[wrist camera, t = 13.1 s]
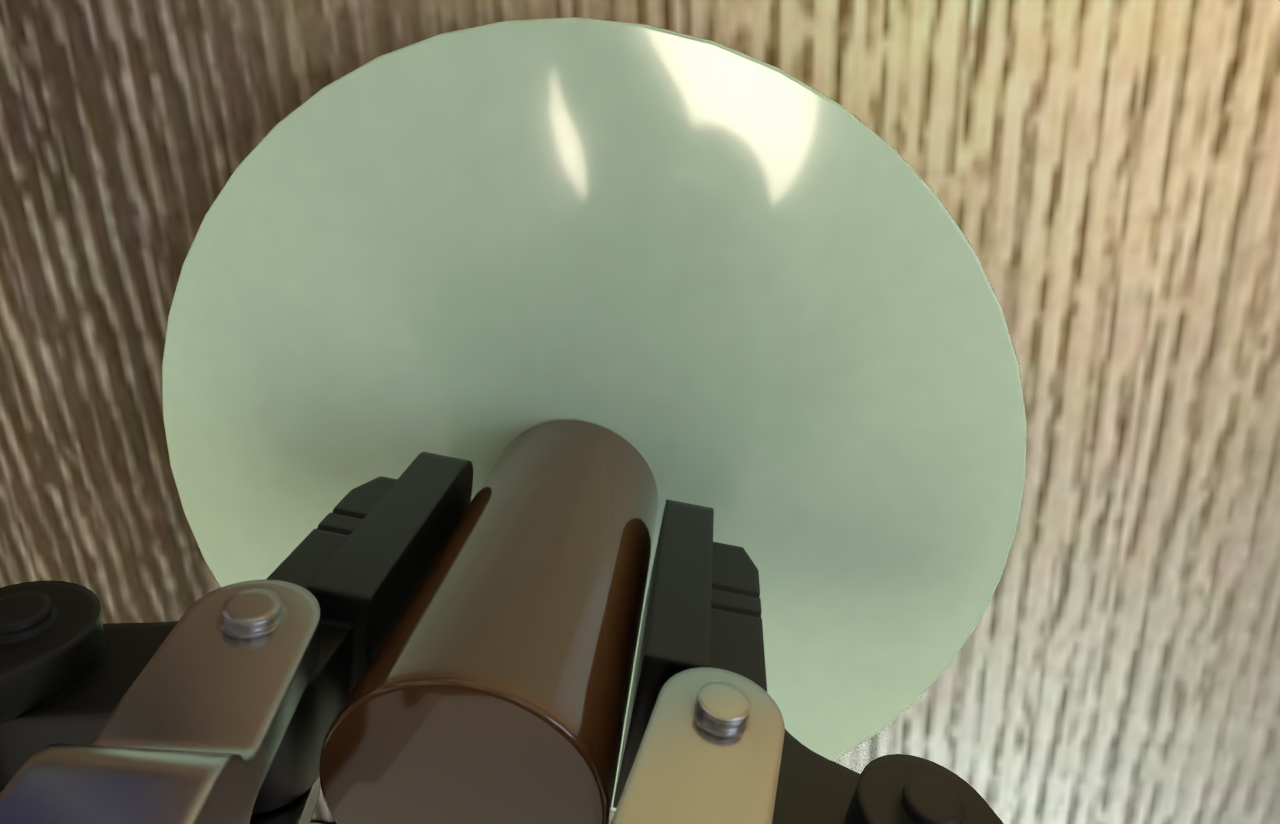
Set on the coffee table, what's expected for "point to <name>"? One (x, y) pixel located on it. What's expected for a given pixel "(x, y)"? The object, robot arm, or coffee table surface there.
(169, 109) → the coffee table surface
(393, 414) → the lid
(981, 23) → the coffee table surface
